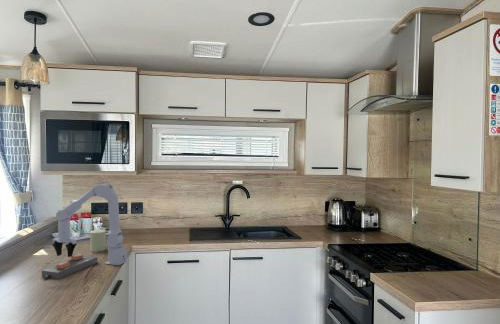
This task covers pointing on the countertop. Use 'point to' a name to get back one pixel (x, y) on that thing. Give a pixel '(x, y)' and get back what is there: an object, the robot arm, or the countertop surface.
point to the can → (97, 240)
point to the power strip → (69, 267)
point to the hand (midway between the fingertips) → (64, 255)
